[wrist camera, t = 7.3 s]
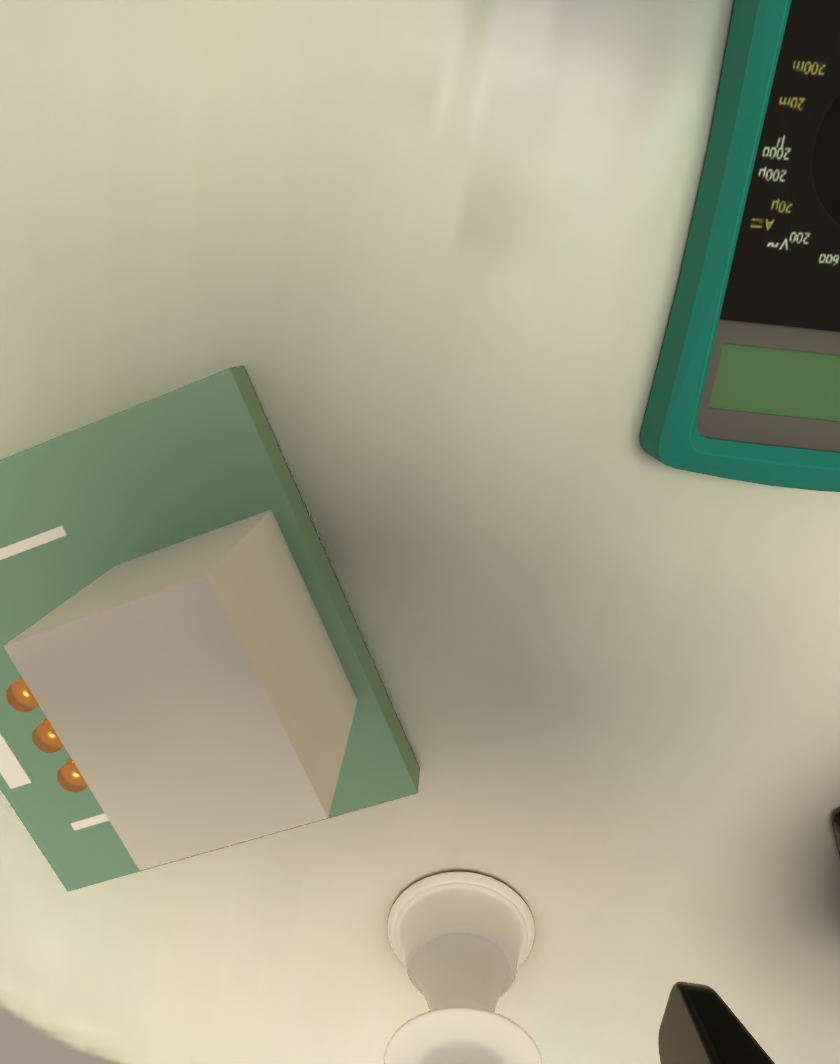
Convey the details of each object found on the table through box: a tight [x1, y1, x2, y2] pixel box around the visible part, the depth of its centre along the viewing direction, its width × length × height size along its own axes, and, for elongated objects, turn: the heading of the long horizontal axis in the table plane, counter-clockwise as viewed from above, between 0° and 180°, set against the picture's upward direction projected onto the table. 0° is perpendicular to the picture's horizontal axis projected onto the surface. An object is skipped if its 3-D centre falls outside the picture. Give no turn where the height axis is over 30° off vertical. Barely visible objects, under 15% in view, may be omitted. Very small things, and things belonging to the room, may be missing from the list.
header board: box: [0, 366, 420, 891], centre depth 21 cm, size 14×13×1 cm
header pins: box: [6, 676, 88, 792], centre depth 19 cm, size 3×1×3 cm, turn 20°
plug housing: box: [3, 510, 358, 870], centre depth 17 cm, size 6×5×5 cm
